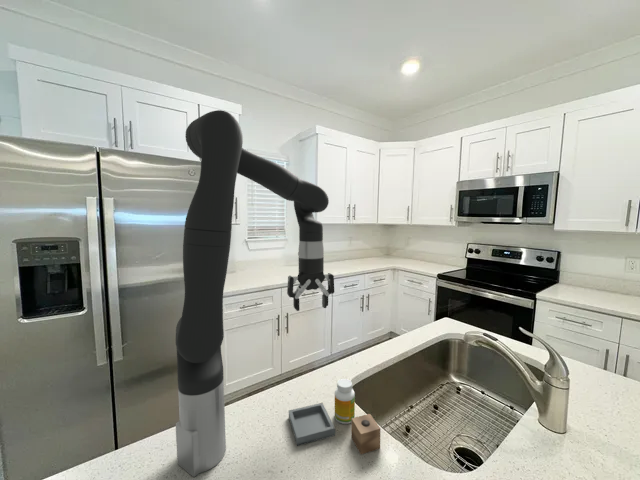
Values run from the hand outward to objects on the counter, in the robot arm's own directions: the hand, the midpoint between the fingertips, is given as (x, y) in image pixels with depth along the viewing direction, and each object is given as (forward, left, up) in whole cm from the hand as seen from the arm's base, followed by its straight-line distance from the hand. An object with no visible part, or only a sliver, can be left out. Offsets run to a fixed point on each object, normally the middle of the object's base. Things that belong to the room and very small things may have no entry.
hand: (311, 308), depth 82 cm
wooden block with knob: (-10, -22, -26) cm, 35 cm away
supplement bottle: (-5, -14, -26) cm, 30 cm away
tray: (-12, -8, -26) cm, 30 cm away
